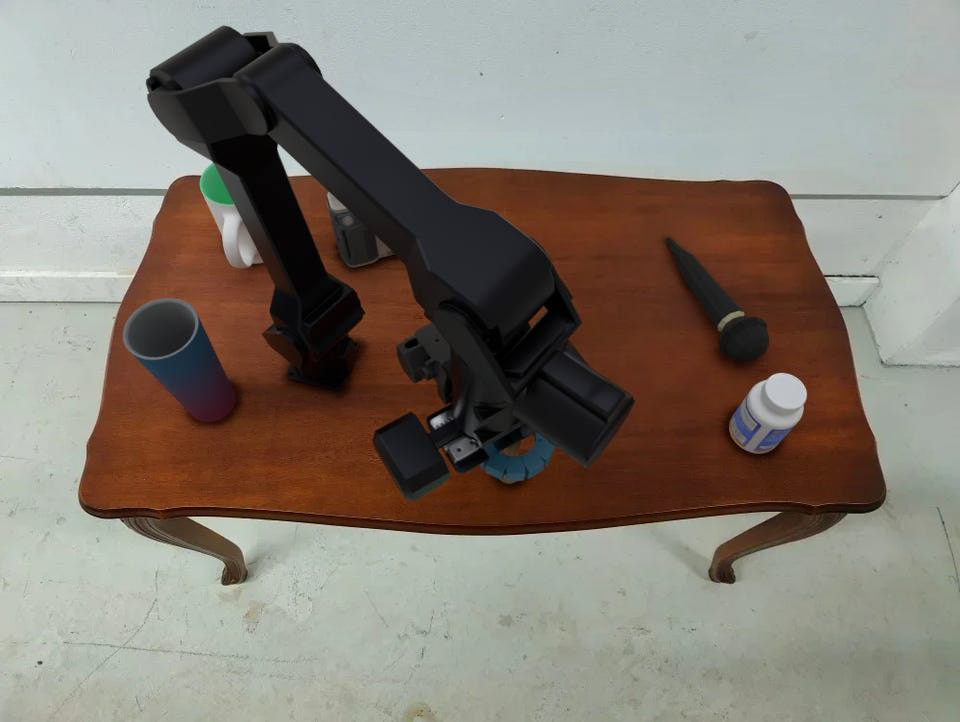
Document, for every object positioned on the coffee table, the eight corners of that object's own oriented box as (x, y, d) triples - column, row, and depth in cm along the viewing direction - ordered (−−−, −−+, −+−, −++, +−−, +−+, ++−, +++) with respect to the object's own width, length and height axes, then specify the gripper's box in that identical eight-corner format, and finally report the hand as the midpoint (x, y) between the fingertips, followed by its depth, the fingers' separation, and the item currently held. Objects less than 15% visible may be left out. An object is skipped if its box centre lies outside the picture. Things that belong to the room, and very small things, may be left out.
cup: (231, 434, 76) (181, 365, 63) (171, 424, 76) (109, 353, 64) (252, 380, 79) (209, 303, 66) (195, 370, 80) (141, 292, 67)
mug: (284, 288, 86) (262, 232, 77) (217, 290, 86) (188, 233, 77) (294, 213, 92) (275, 153, 83) (232, 215, 92) (205, 154, 83)
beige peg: (493, 480, 74) (496, 441, 65) (499, 457, 75) (503, 416, 66) (518, 486, 73) (524, 447, 65) (523, 463, 75) (530, 423, 66)
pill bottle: (783, 421, 77) (821, 378, 69) (771, 462, 75) (809, 423, 67) (734, 402, 79) (765, 357, 70) (721, 443, 76) (752, 401, 68)
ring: (472, 482, 65) (473, 475, 64) (470, 407, 69) (470, 398, 68) (556, 480, 65) (559, 472, 64) (549, 404, 69) (551, 396, 68)
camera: (343, 272, 87) (329, 217, 78) (335, 237, 90) (320, 180, 81) (433, 252, 89) (429, 196, 80) (422, 219, 92) (417, 161, 83)
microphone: (651, 263, 92) (735, 379, 81) (645, 235, 87) (733, 354, 76) (689, 243, 92) (779, 357, 80) (686, 214, 87) (780, 331, 75)
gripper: (532, 245, 58) (521, 345, 72) (327, 347, 53) (356, 433, 66) (615, 343, 53) (586, 430, 67) (398, 465, 48) (414, 532, 62)
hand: (485, 452), depth 66 cm, fingers closed on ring, 2 cm apart
